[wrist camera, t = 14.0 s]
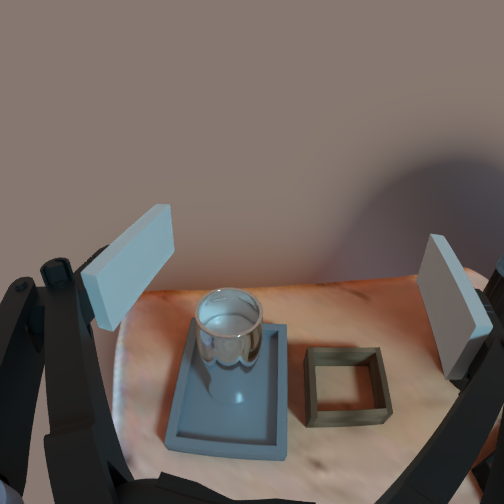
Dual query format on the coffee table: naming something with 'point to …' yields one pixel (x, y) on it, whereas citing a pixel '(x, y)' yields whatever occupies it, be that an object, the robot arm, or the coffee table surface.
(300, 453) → the coffee table surface
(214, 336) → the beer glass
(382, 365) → the walnut holder
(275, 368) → the slate tray
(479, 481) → the portable cd player
